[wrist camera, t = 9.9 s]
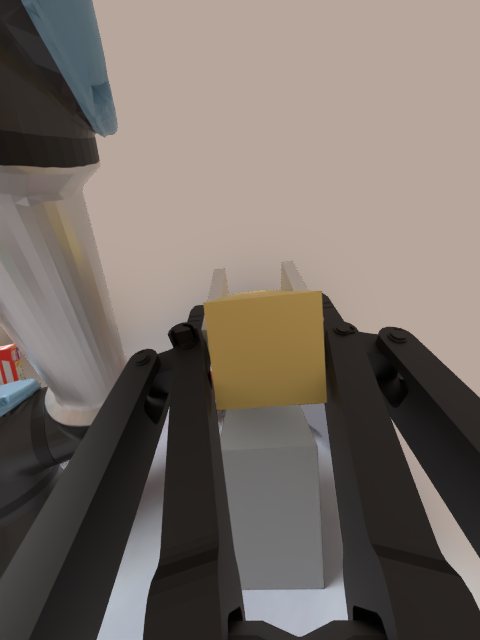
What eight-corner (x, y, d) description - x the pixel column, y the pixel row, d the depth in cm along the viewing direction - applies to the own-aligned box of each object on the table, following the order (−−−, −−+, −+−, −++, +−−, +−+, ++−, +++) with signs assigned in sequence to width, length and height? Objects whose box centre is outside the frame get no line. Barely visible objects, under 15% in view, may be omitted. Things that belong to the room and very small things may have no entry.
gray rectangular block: (324, 588, 23) (317, 445, 20) (235, 589, 24) (217, 450, 21) (299, 489, 34) (293, 389, 32) (240, 491, 35) (229, 393, 32)
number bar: (327, 403, 7) (321, 290, 7) (217, 410, 8) (203, 303, 7) (269, 318, 29) (267, 290, 29) (241, 321, 29) (238, 293, 29)
